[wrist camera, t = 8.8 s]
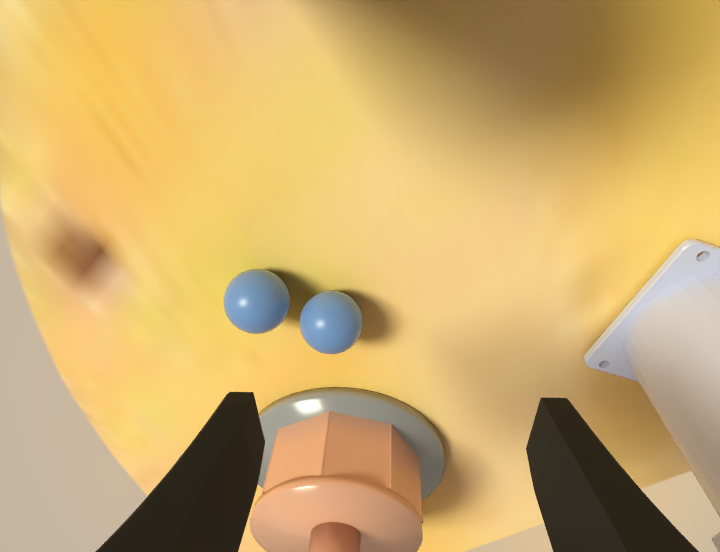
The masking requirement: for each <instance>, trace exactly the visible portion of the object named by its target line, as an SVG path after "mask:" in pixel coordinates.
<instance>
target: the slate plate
mask: <svg viewBox="0 0 720 552" xmlns="http://www.w3.org/2000/svg"><path fill="white" fill-rule="evenodd" d="M328 411H332V412H337V413H342V414H346V415H351V416H356V417H361V418H365V419H370V420H375V421H380V422H384V423H389V424H392V426H393V427H394V428H395V429H396V431H397V432H398V433H399V434H400V435H401V437H402V438H403V439H404V440H405V442H406V443H407V444H408V445H409V446H410V448H411V449H412V450H413V451H414V452H415V454H416V455H417V456H418V457H419V462H420V478H421V494H422V500H424V499H425V498H426V497H427V496H429V495H430V494H431V493H432V492H433V491H434V490H435V489H436V487H437V486H438V484H439V483H440V481H441V479H442V476H443V474H444V468H445V459H444V450H443V444H442V441H441V438H440V436H439V434H438V432H437V430H436V429H435V428H434V426H433V425H432V424H431V422H430V421H429V420H427V419H426V418H425V417H424V416H423V415H422V414H421V413H419V412H418V411H417V410H415V409H414V408H412V407H410V406H409V405H407V404H405V403H403V402H401V401H399V400H396V399H394V398H392V397H389V396H386V395H383V394H380V393H376V392H372V391H367V390H362V389H354V388H338V387H331V388H318V389H311V390H305V391H301V392H297V393H294V394H291V395H288V396H286V397H283V398H281V399H279V400H277V401H275V402H273V403H271V404H270V405H269V406H267V407H266V408H264V409H263V410H262V411H261V412H260V413H259V418H260V422H261V426H262V431H263V435H264V439H265V447H264V453H263V459H262V464H261V470H260V475H259V481H258V484H259V485H260V487H262V488H263V486H264V482H265V478H266V474H267V469H268V465H269V463H270V458H271V454H272V450H273V446H274V442H275V437H276V433H277V429H279V428H282V427H285V426H288V425H291V424H294V423H296V422H299V421H302V420H305V419H308V418H311V417H314V416H316V415H319V414H322V413H325V412H328Z"/></svg>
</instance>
